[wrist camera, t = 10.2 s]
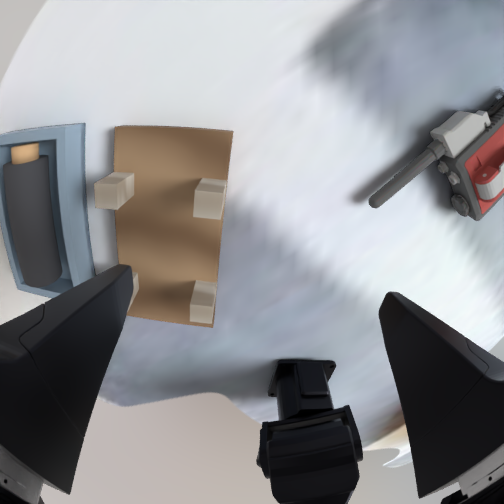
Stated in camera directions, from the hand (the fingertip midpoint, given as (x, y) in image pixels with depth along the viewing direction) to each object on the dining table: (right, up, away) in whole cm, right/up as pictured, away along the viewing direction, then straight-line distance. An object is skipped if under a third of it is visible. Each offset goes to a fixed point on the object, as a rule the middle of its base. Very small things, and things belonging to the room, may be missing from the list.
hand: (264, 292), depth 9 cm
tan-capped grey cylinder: (-18, +5, +10) cm, 21 cm away
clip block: (-7, +3, +12) cm, 14 cm away
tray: (-18, +5, +11) cm, 21 cm away
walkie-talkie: (+18, +9, +10) cm, 22 cm away
